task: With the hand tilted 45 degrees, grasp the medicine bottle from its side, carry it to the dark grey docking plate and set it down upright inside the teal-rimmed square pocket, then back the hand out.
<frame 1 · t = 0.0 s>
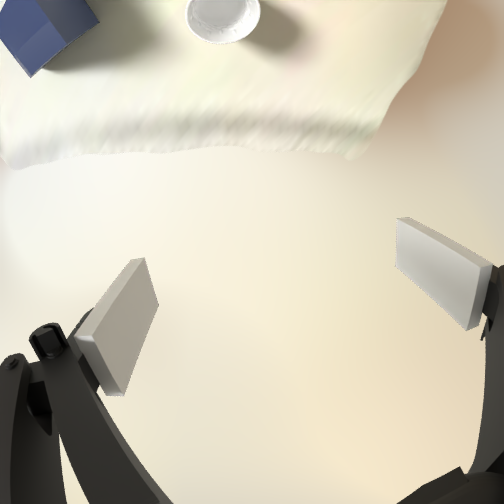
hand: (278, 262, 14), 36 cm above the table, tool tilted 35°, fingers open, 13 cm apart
blue wedge block: (50, 19, 23), on the table
white cup: (219, 3, 28), on the table
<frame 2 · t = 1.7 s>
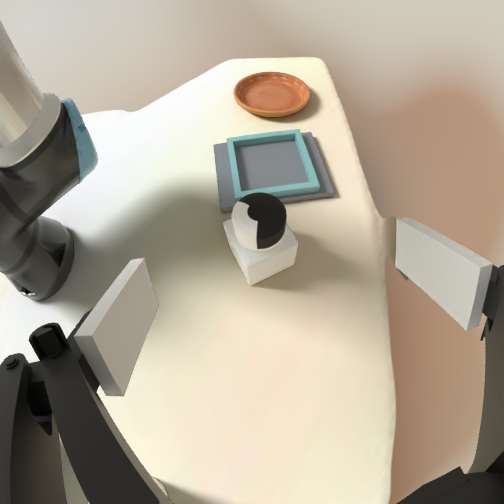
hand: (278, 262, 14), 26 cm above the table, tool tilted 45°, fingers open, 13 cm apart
medicine bottle: (261, 255, 43), on the table
saucer: (272, 100, 57), on the table
dock: (270, 170, 49), on the table
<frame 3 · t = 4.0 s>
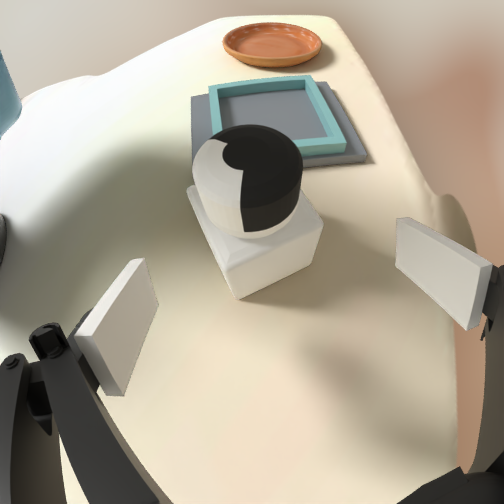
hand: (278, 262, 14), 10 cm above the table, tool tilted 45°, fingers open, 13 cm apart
medicine bottle: (256, 249, 26), on the table
saucer: (272, 52, 41), on the table
dock: (270, 125, 32), on the table
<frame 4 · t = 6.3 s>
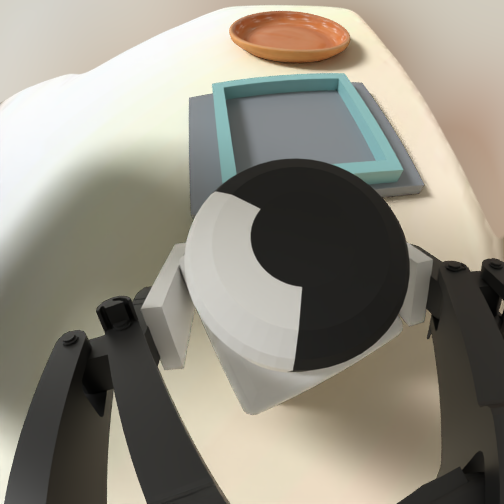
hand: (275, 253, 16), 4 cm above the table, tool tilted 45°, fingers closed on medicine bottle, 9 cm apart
medicine bottle: (283, 326, 18), on the table, touching gripper
saucer: (289, 45, 33), on the table
dock: (296, 138, 24), on the table
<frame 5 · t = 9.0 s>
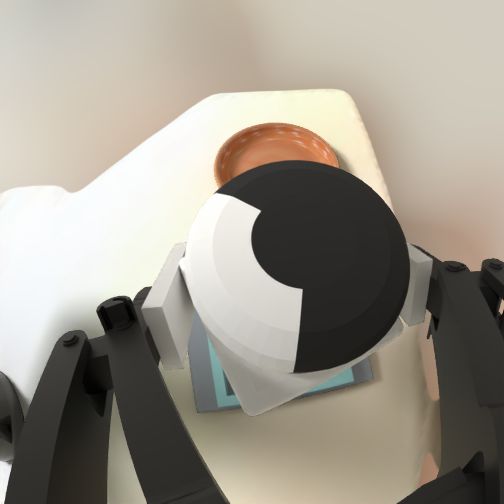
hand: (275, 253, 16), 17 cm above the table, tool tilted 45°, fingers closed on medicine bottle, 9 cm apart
medicine bottle: (283, 327, 18), point 13 cm above the table, touching gripper
saucer: (276, 177, 39), on the table
dock: (274, 335, 30), on the table
when the fingers open (7 cm above the table, at t = 12.0 s): medicine bottle drops 2 cm, resting on dock.
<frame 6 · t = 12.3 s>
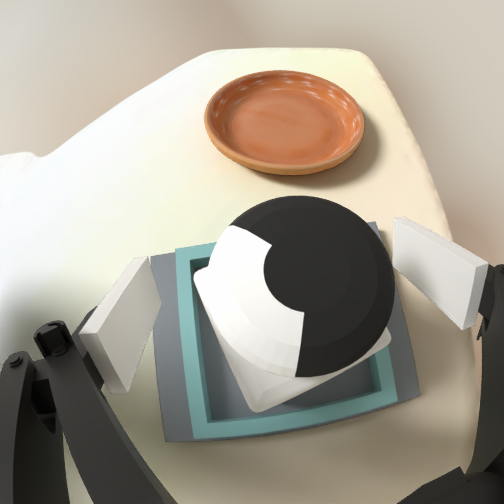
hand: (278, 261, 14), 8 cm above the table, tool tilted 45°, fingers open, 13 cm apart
medicine bottle: (284, 332, 19), point 1 cm above the table, touching dock
saucer: (284, 130, 29), on the table
dock: (281, 333, 20), on the table
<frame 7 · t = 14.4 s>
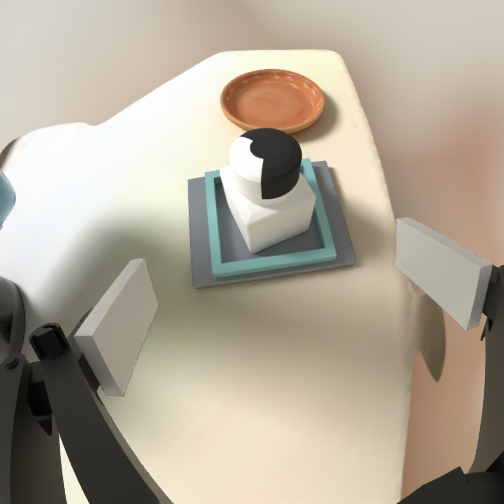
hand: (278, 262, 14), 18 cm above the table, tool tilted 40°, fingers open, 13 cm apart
medicine bottle: (267, 217, 34), point 1 cm above the table, touching dock
saucer: (272, 109, 43), on the table
dock: (266, 220, 35), on the table
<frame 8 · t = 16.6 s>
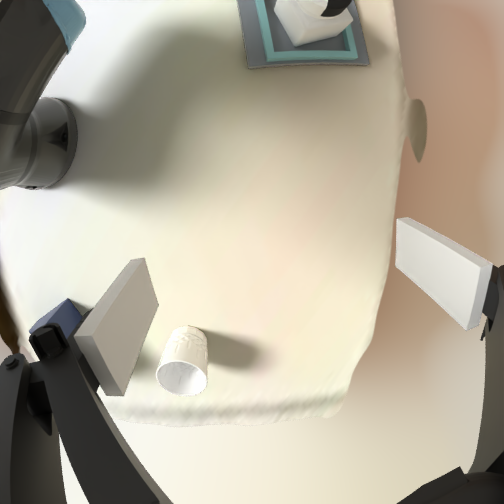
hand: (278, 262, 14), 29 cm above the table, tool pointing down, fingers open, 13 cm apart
medicine bottle: (305, 22, 32), point 1 cm above the table, touching dock
blue wedge block: (70, 332, 49), on the table
white cup: (188, 340, 50), on the table
dock: (302, 24, 33), on the table
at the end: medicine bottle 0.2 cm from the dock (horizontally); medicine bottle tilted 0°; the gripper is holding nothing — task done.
